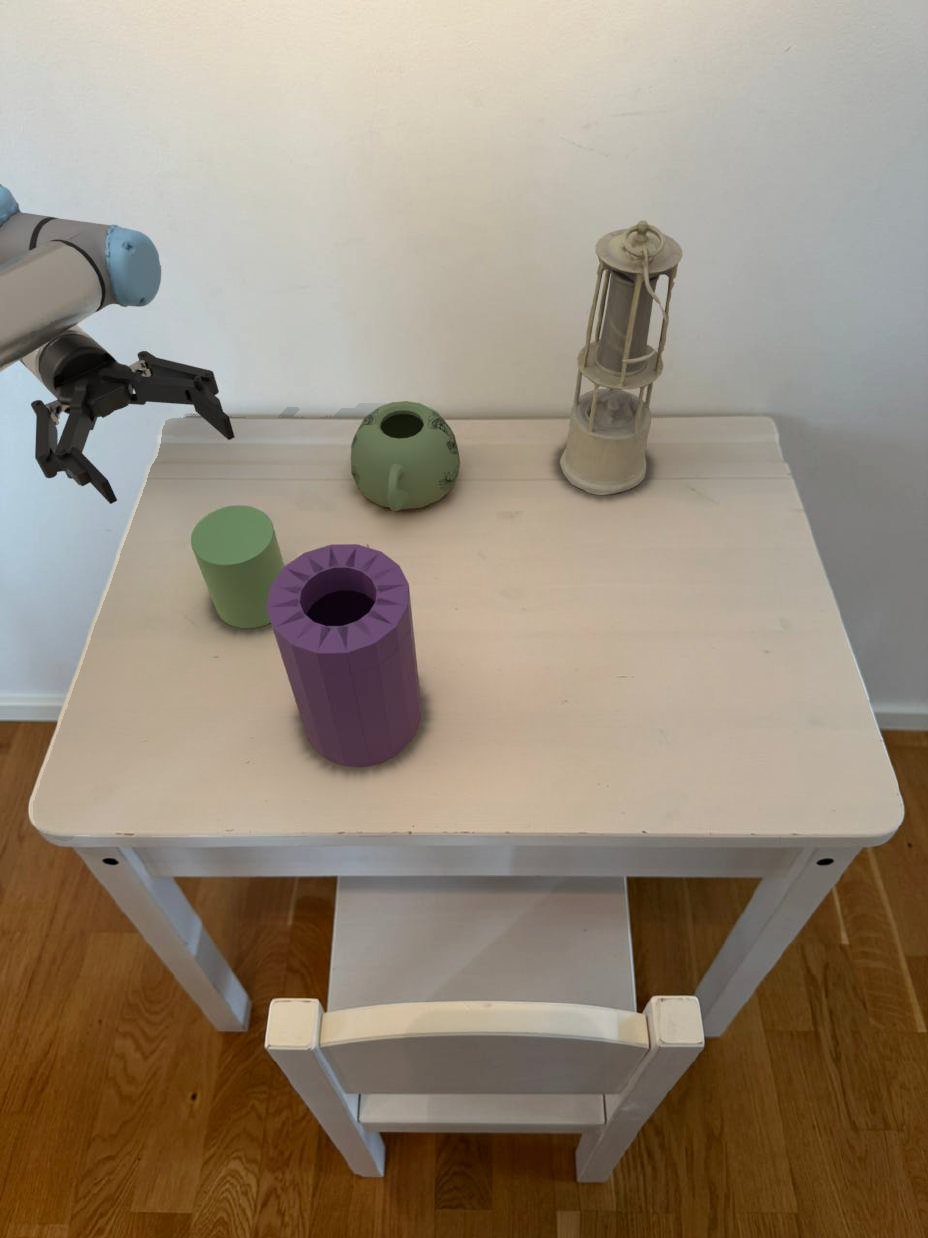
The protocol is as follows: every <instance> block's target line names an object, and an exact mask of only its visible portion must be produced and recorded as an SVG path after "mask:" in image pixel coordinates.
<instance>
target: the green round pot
mask: <svg viewBox="0 0 928 1238" xmlns="http://www.w3.org/2000/svg"><path fill="white" fill-rule="evenodd" d="M460 467H461V458H460V452H459V448H458V443H457V439H456V435H455V434H454V431H453V430H452V428H451V427H450V425H449V424H448V423H447V422H446V421H445V419H444V418H443V417H442V415H441V414H440V413H439V412H438V411H437V410H434V409H433V408H431V407H429V406H426V405H425V404H422V403H421V402H414V401H408V400H403V401H392V402H389V403H387V404H384V405H381V406H378V407H377V408H375V409H374V410H373V411H371V413H369V414H368V415H366V416H365V417H364V418H363V420H362V421H361V423H360V425H359V427H358V429H357V431H356V432H355V434H354V436H353V439H352V442H351V447H350V472H351V475H352V478H353V480H354V482H355V485H356V486H357V488H358V489H359V491H360V493H361V494H362V495H363V497H364V498H366V499H368V500H369V501H371V502H373V503H375V504H376V505H378V506H380V507H385V508H389V510H390V511H392V512H398V511H400V510H409V509H418V508H419V509H421V508H423V507H425V506H428V505H431V504H433V503H436V502H438V501H440V500H441V499H442V498H443V497H445V496H446V495H447V494H448V493H450V491H451V490H453V488H454V485H455V483H456V481H457V478H458V476H459V472H460Z"/></svg>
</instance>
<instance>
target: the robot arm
mask: <svg viewBox="0 0 928 1238" xmlns="http://www.w3.org/2000/svg"><path fill="white" fill-rule="evenodd" d="M161 282H162V265H161V262H160V254H159V251H158V249H157V247H156V245H155V242H154V241H153V240H152V239H151V238H150V237H149V236H148V235H147V234H145V233H143V232H141V231H139V230H134V229H131V228H126V227H122V226H119V225H117V224H114V223H113V224H103V223H96V222H88V221H81V220H73V219H67V218H59V217H54V216H48V215H42V214H35V213H27V212H22V211H21V209H20V205H19V202H17V200H16V198H15V196H14V195H13V193H12V192H11V190H10V189H9V188H8V187H5V186H3V185H2V184H1V183H0V373H1V372H3V371H4V370H6V369H8V368H9V367H11V366H12V365H14V364H15V363H17V362H20V363H21V364H22V365H23V366H24V367H25V368H26V369H27V370H28V371H29V372H30V373H31V374H32V375H33V376H34V377H35V378H36V379H37V380H38V381H39V382H40V383H41V384H42V385H43V386H44V387H45V388H46V389H47V390H48V392H50V393H51V395H53V396H54V397H55V398H56V400H53V401H51V402H48V403H46V404H45V403H44V401H43V400H41V399H36V400H33V401H32V402H31V403H30V407H31V409H32V410H33V413H34V414H35V416H36V417H35V421H36V422H35V447H34V448H35V449H34V454H35V455H34V458H35V460H36V462H37V465H38V466H39V468H40V469H41V472H42V473H43V475H44V477H45V478H46V479H53V478H55V477H56V476H57V475H58V473H61V472H64V473H65V475H66V477H67V479H69V480H70V479H71V480H74V482H75V483H76V484H77V485H78V486H81V487H84V486H86V485H88V484H91V485H92V486H93V487H94V489H96V491H98V493H99V494H100V495H101V496H102V497H103V498H104V499H105V500H106V501H107V503H109V504H110V505H111V504H113V503H114V504H115V503H116V502H117V501H118V498H117V496H116V494H115V492H114V489H113V488H112V485H111V483H110V482H109V479H107V477H106V476H105V475H104V474H103V473H102V472H101V471H100V470H99V469H98V468H97V467H96V466H95V465H94V464H93V463H92V462H91V460H90V459H88V458H87V457H86V455H84V453H83V452H84V449H85V447H86V444H87V441H88V438H89V435H90V432H91V431H94V428H95V426H96V423H97V420H98V418H102V419H104V418H106V417H108V416H110V415H111V414H112V413H114V412H115V411H118V410H122V409H124V408H126V407H128V406H130V405H138V406H144V405H146V403H147V402H148V403H160V404H161V403H162V404H174V405H186V406H187V405H190V406H193V408H194V411H195V412H196V413H197V414H198V415H199V416H200V417H201V418H202V419H204V421H206V422H207V423H208V424H209V425H211V426H212V427H213V428H214V429H215V430H216V431H218V433H220V434H221V435H222V436H223V437H224V438H225V439H227V440H228V441H230V440H232V439H235V437H236V436H235V433H234V429H233V425H232V423H231V419H230V416H229V415H228V414H227V413H225V411H224V410H223V406H222V402H221V399H220V398H218V397H217V395H218V394H219V392H220V391H219V387H218V384H217V380H216V377H215V374H214V371H213V370H212V369H211V370H210V369H206V368H201V367H198V366H195V365H194V366H193V365H189V364H186V363H181V362H177V361H174V360H168V359H164V358H160V357H158V356H157V357H156V356H155V355H154V354H152V353H150V352H148V351H147V350H142V351H141V350H140V351H139V352H137V358H138V360H137V361H135V362H133V363H132V364H130V365H128V364H123V363H120V362H118V361H117V359H115V357H114V356H113V355H112V354H110V352H109V351H107V350H106V349H105V348H104V347H103V346H102V345H100V343H98V341H96V340H95V339H94V338H93V337H92V336H91V335H90V334H88V333H87V332H86V331H85V330H84V329H83V328H82V327H80V325H78V324H79V323H81V322H83V321H84V320H86V319H87V318H89V317H91V316H93V315H94V314H95V313H97V312H100V311H101V310H103V309H104V308H106V307H108V306H110V305H118V306H120V307H123V308H128V307H137V308H138V307H139V308H140V307H141V308H142V307H145V306H147V305H150V303H151V302H153V300H154V299H155V298H156V296H157V294H158V292H159V290H160V286H161ZM62 413H65V414H67V415H68V417H67V419H66V421H65V425H64V427H63V430H62V432H61V435H60V438H59V437H58V435H59V433H58V427H57V426H59V425H60V421H59V420H60V418H61V417H60V415H61V414H62ZM58 438H59V439H58Z"/></svg>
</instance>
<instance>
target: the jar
mask: <svg viewBox="0 0 928 1238" xmlns="http://www.w3.org/2000/svg"><path fill="white" fill-rule="evenodd" d="M266 609H267V612H268V615H269V618H270V622H271V623H270V625H271V628H272V631H273V634H274V637H275V640H276V644H277V647H278V651H279V653H280V656H281V659H282V662H283V666H284V669H285V672H286V675H287V678H288V682H289V685H290V688H291V691H292V694H293V697H294V700H295V704H296V707H297V711H298V713H299V716H300V720H301V722H302V726H303V729H304V732H305V734H306V738H307V740H308V741H309V743H310V744H311V746H312V748H314V750H315V751H316V752H317V753H318V754H320V755H321V756H322V757H324V758H325V759H327V760H329V761H330V762H333V763H335V764H339V765H342V766H346V767H358V768H359V767H368V766H374V765H377V764H381V763H384V762H386V761H389V760H390V759H393V758H394V757H396V756H397V755H398V754H400V753H401V752H402V751H404V750H405V748H406V747H407V746H408V745H409V744H410V743H411V742H412V740H413V739H414V737H415V735H416V733H417V732H418V729H419V726H420V723H421V718H422V717H421V716H422V709H421V708H422V699H421V690H420V678H419V670H418V660H417V650H416V642H415V630H414V620H413V611H412V602H411V591H410V584H409V582H408V579H407V578H406V575H405V574H404V571H403V570H402V568H401V566H400V565H399V564H398V563H397V562H395V561H394V560H393V559H392V558H390V557H389V556H387V554H385V553H384V552H382V551H381V550H378V549H375V548H371V547H368V546H364V545H361V544H357V543H349V544H348V543H347V544H346V543H343V544H341V543H340V544H329V545H324V546H322V547H321V546H320V547H319V548H315V549H312V550H309V551H305V552H303V553H302V554H300V555H299V556H298V557H296V558H295V559H293V560H291V561H290V562H289V563H287V564H286V565H284V568H283V569H282V570H281V572H280V573H279V575H278V576H277V578H276V579H275V580H274V582H273V583H272V585H271V587H270V590H269V596H268V602H267V607H266Z"/></svg>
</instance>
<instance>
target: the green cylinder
mask: <svg viewBox="0 0 928 1238" xmlns="http://www.w3.org/2000/svg"><path fill="white" fill-rule="evenodd" d="M190 545H191V549H192V552H193V554H194V556H195V559H196V561H197V564H198V567H199V569H200V572H201V573H202V574H201V575H202V578H203V580H204V582H205V585H206V588H207V590H208V592H209V595H210V598H211V600H212V603H213V605H214V608H215V611H216V613H217V615H218V616H219V617H220V619H221V620H222V621H223V622H224V623H226V624H228V625H230V626H232V627H235V628H239V629H257V628H260V627H265V626H267V625H270V624H271V622H270V618H269V615H268V612H267V609H266V607H267V602H268V596H269V590H270V587H271V585H272V583H273V582H274V580H275V579H276V578H277V576H278V575H279V573H280V572H281V570H282V569H283V568H284V566H285V564H284V560H283V557H282V553H281V549H280V545H279V542H278V537H277V534H276V531H275V527H274V524H273V521H272V520H271V518H270V517H269V515H268V514H267V513H266V512H264V511H263V510H261V509H259V508H257V507H254V506H250V505H243V504H241V505H238V504H237V505H229V506H225V507H221V508H218V509H215V510H214V511H212V512H209V513H208V514H207V515H205V516H204V517H202V518H201V519H200V520H199V521H198V523H197V524H196V525H195V526H194V529H193V530H192V532H191V537H190Z"/></svg>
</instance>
